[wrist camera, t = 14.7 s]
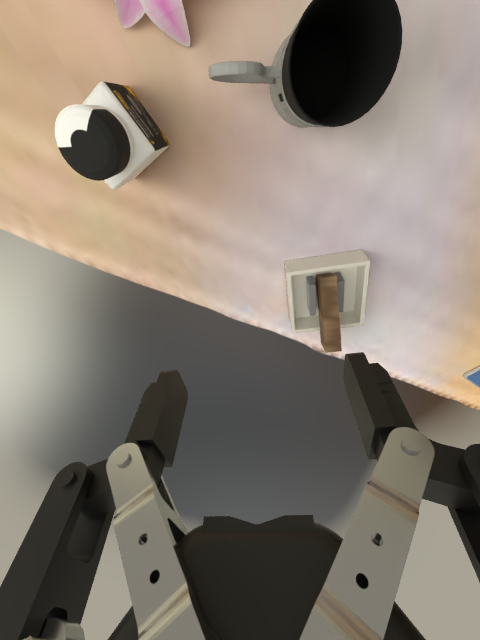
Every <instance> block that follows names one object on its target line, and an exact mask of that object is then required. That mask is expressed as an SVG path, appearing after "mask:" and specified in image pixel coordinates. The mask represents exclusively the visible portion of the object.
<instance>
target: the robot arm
mask: <svg viewBox="0 0 480 640" xmlns="http://www.w3.org/2000/svg"><path fill="white" fill-rule="evenodd" d="M344 384H345V388H346V391H347V395H348V398H349V401H350V404H351V407H352V410H353V413H354V416H355V419H356V422H357V426H358V429H359V431H360V435H361V438H362V441H363V444H364V447H365V450H366V453H367V456H368V459H377V465H376V467H375V470H374V472H373V474H372V477H371V479H370V481H369V482H368V483H367V486H366V488H365V490H364V492H363V494H362V497H361V499H360V501H359V504H358V506H357V508H356V511H355V513H354V516H353V518H352V520H351V522H350V525H349V527H348V530H347V532H346V534H345V537H344V539H342V538H341V537H340V536H339V535H338V534H336V533H335V532H333V531H332V530H330V529H329V528H327V527H325V526H323V525H320V524H318V523H314V520H313V515H297V516H296V515H293V516H292V515H291V516H282V517H279V518H276V519H273V520H270V521H267V522H264V523H262V524H252V523H249V522H246V521H243V520H240V519H236V518H233V517H230V516H225V517H224V516H219V517H218V516H216V517H204V522H203V525H201V526H199V527H197V528H195V529H193V530H192V531H190V532H189V533H188V531H187V528H186V527H185V525H184V523H183V521H182V520H181V518H180V516H179V514H178V512H177V510H176V508H175V505H174V503H173V500H172V498H171V496H170V494H169V491H168V489H167V486H166V484H165V482H164V479H163V477H162V471H163V467H172V464H173V461H174V456H175V452H176V448H177V443H178V439H179V435H180V430H181V426H182V422H183V418H184V413H185V409H186V405H187V400H188V393H187V389H186V387H185V385H184V382H183V380H182V378H181V376H180V374H179V372H178V371H177V370H171V371H162V372H161V373H160V375H159V377H158V380H157V383H152V384H151V385H150V386H149V387H148V389H147V390H146V391H145V392H144V395H143V397H142V400H141V404H140V405H139V408H138V411H137V413H136V416H135V418H134V420H133V423H132V426H131V428H130V431H129V433H128V436H127V438H126V441H125V443H124V444H123V445H121V446H119V447H118V448H116V449H115V451H113V452H112V454H111V455H110V457H109V458H108V459H106V460H103V461H101V462H98V463H96V464H93V465H91V466H88V467H87V466H86V465H85V464H83V463H81V462H74V463H71V464H69V465H68V466H66V467H65V468H63V469H62V470H61V471H60V472H59V473H58V474H57V476H56V477H55V479H54V480H53V482H52V484H51V486H50V488H49V490H48V492H47V494H46V496H45V498H44V500H43V502H42V504H41V506H40V508H39V510H38V512H37V514H36V516H35V518H34V520H33V522H32V524H31V526H30V529H29V530H28V532H27V534H26V536H25V538H24V540H23V542H22V545H21V546H20V548H19V551H18V553H17V554H16V556H15V559H14V560H13V562H12V564H11V566H10V569H9V571H8V573H7V575H6V577H5V579H4V581H3V583H2V585H1V587H0V640H85V638H84V631H83V629H82V627H81V625H80V623H81V620H82V617H83V614H84V610H85V607H86V603H87V600H88V596H89V594H90V590H91V587H92V584H93V581H94V577H95V574H96V570H97V567H98V564H99V561H100V557H101V554H102V551H103V548H104V544H105V541H106V538H107V534H108V531H109V528H110V525H111V521H112V518H113V515H114V511H115V510H117V516H115V517H114V528H115V532H116V537H117V541H118V545H119V550H120V554H121V558H122V562H123V567H124V571H125V575H126V579H127V584H128V587H129V592H130V596H131V600H132V607H131V608H130V610H129V611H128V612H127V614H126V615H125V616H124V618H123V619H122V621H121V622H120V623H119V625H118V626H117V627H116V629H115V630H114V632H113V633H112V635H111V636H110V637H109V639H108V640H426V639H425V638H424V637H423V636H422V635H421V633H420V632H419V631H418V630H417V628H416V627H415V626H414V625H413V623H412V622H411V621H410V620H409V619H408V617H407V616H406V615H405V614H404V612H403V611H402V610H401V609H400V608H399V606H398V605H397V604H396V602H395V601H394V600H395V597H396V593H397V590H398V586H399V583H400V579H401V576H402V572H403V569H404V566H405V562H406V559H407V555H408V552H409V548H410V545H411V541H412V538H413V534H414V531H415V528H416V524H417V520H418V515H419V506H420V503H421V500H422V499H425V500H429V501H432V502H435V503H438V504H442V505H445V506H447V507H448V509H449V511H450V514H451V516H452V518H453V521H454V523H455V525H456V527H457V530H458V532H459V535H460V537H461V539H462V542H463V544H464V546H465V549H466V551H467V553H468V556H469V558H470V560H471V563H472V565H473V567H474V570H475V572H476V574H477V577H478V579H479V582H480V444H474V445H471V446H469V447H468V448H467V449H466V450H464V449H460V448H456V447H451V446H447V445H443V444H439V443H437V442H434V441H432V440H430V439H428V438H427V437H426V436H425V435H424V434H422V433H421V432H420V431H419V430H418V429H417V428H416V427H415V425H414V423H413V421H412V419H411V417H410V415H409V413H408V411H407V409H406V408H405V405H404V404H403V402H402V400H401V398H400V396H399V394H398V393H397V390H396V388H395V386H394V384H393V382H392V380H391V378H390V376H389V374H388V372H387V371H386V370H385V369H384V368H383V367H382V366H381V365H379V364H378V363H372V364H369V363H368V360H367V358H366V356H365V354H364V353H363V352H361V353H351V354H345V365H344Z"/></svg>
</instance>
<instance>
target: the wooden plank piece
mask: <svg viewBox="0 0 480 640" xmlns="http://www.w3.org/2000/svg"><path fill="white" fill-rule="evenodd" d="M316 286H317V298H318V311H319V323H320V335H321V343H322V346H323V348H324V350H325V352H336V351H341V335H340V318H339V302H338V286H337V275H335V274H333V273H331V272H330V273H323V274H316Z"/></svg>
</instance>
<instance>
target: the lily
mask: <svg viewBox="0 0 480 640" xmlns="http://www.w3.org/2000/svg"><path fill="white" fill-rule="evenodd" d="M114 2H115V7H116V11H117V14H118V18H119V21H120V23H121V25H122V27H123V28H129V27H131V26H132V25H134V24H135V23H136V22H137V21H138V20H139V19H141V18H142V16H143V15H144V14H145V12H146V14H147V15H148V17H149V18H150V19H151V20H152V22H153V23H154V24H155V25H156V26H157V27H158V28H159V29H161V30H162V31H163V32H164V33H165V34H167V35H168V36H169V37H170V38H172V39H173V40H175V41H176V42H178V43H179V44H181V45H183V46H185V47H189V46H190V35H189V30H188V25H187V21H186V17H185V12H184V8H183V4H182V0H114Z"/></svg>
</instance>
